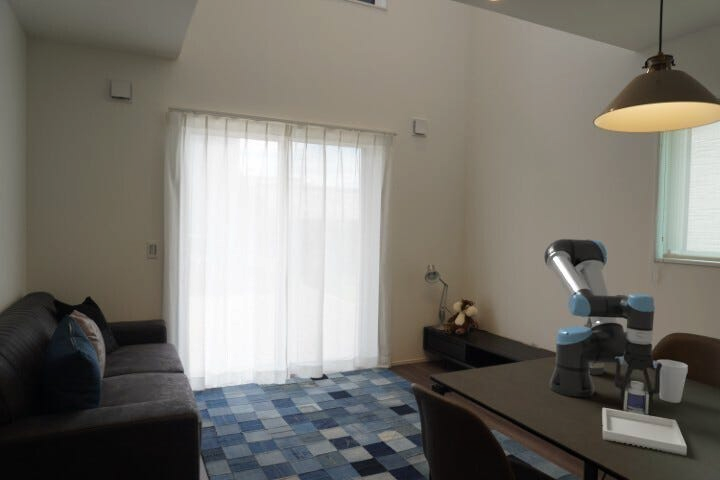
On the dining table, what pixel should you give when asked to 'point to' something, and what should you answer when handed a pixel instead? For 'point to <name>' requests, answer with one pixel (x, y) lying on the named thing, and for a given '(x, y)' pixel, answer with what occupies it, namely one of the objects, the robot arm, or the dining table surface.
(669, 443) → the tray
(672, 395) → the foam cup
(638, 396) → the pill bottle
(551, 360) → the dining table surface
